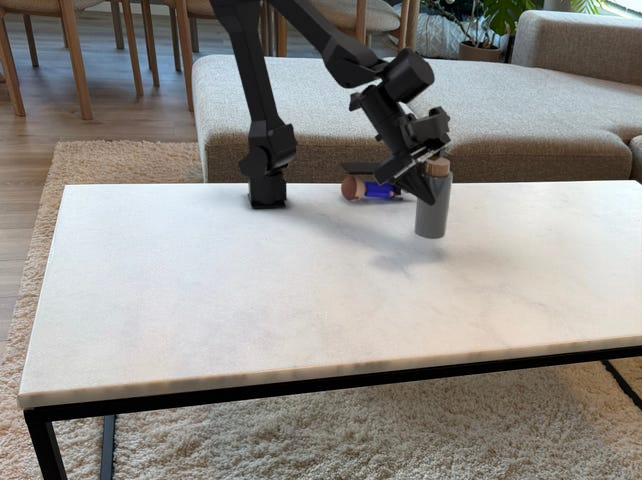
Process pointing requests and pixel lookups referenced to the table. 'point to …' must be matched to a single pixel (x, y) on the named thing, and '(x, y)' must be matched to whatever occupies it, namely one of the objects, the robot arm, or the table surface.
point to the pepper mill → (439, 182)
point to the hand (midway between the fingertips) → (440, 199)
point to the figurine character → (366, 183)
